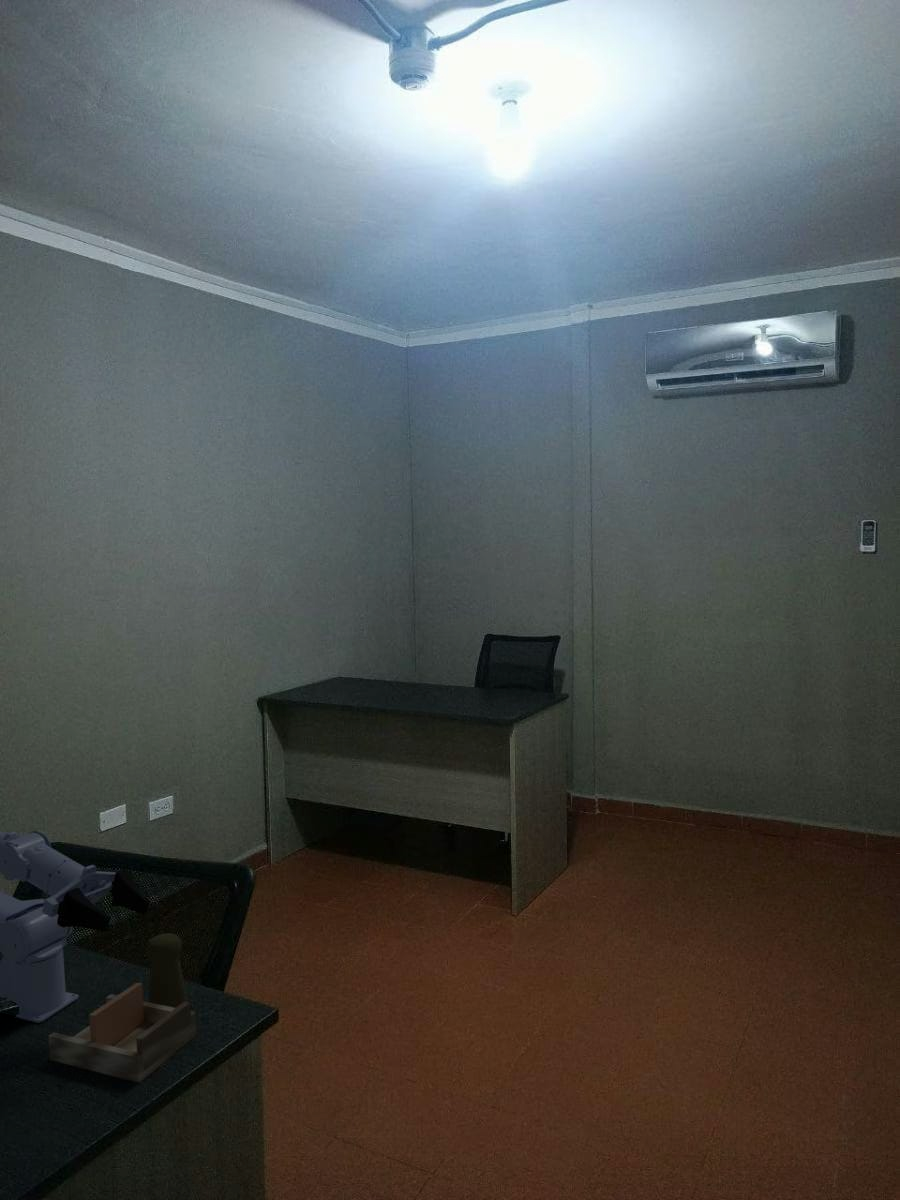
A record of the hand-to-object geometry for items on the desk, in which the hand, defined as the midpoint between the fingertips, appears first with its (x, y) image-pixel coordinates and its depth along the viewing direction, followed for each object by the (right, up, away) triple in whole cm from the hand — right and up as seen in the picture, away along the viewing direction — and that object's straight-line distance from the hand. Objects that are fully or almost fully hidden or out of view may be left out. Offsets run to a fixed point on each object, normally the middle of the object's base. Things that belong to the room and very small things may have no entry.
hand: (127, 916), depth 129 cm
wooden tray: (0, -18, -2) cm, 18 cm away
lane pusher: (-1, -17, -2) cm, 17 cm away
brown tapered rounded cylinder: (+3, -18, +9) cm, 20 cm away
